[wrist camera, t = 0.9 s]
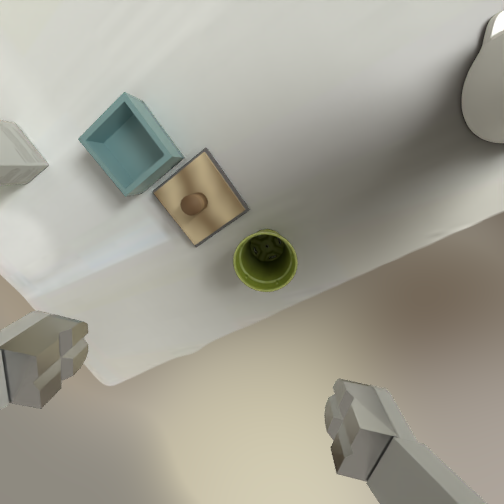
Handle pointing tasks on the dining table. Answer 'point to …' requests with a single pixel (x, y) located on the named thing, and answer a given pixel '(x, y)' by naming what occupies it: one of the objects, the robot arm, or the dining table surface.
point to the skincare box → (17, 156)
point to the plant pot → (265, 261)
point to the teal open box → (131, 145)
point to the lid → (199, 199)
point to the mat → (227, 183)
